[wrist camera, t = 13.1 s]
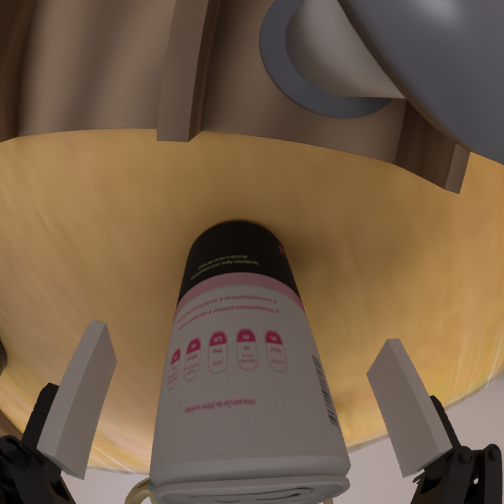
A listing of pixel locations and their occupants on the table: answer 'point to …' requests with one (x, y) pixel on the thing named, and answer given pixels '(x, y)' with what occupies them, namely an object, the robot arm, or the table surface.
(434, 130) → the wooden divided tray
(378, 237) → the table surface
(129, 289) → the table surface
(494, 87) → the cable reel
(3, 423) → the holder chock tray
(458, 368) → the table surface
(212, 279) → the beverage can
